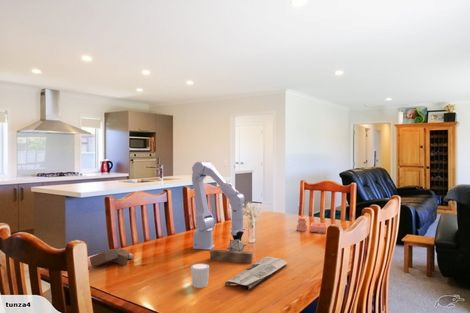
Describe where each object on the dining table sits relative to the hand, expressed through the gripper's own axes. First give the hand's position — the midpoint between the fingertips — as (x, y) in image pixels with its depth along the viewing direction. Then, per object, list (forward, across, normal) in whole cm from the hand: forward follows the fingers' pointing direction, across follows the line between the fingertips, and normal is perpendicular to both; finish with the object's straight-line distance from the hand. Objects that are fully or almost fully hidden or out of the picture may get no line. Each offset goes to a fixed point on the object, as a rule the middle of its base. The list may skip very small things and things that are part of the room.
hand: (237, 246), depth 166 cm
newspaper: (+4, -26, -15) cm, 30 cm away
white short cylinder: (+3, -42, +4) cm, 42 cm away
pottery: (+4, +56, -34) cm, 66 cm away
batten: (+3, -12, 0) cm, 12 cm away
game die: (+3, -4, 0) cm, 5 cm away
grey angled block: (+3, -28, +49) cm, 56 cm away
